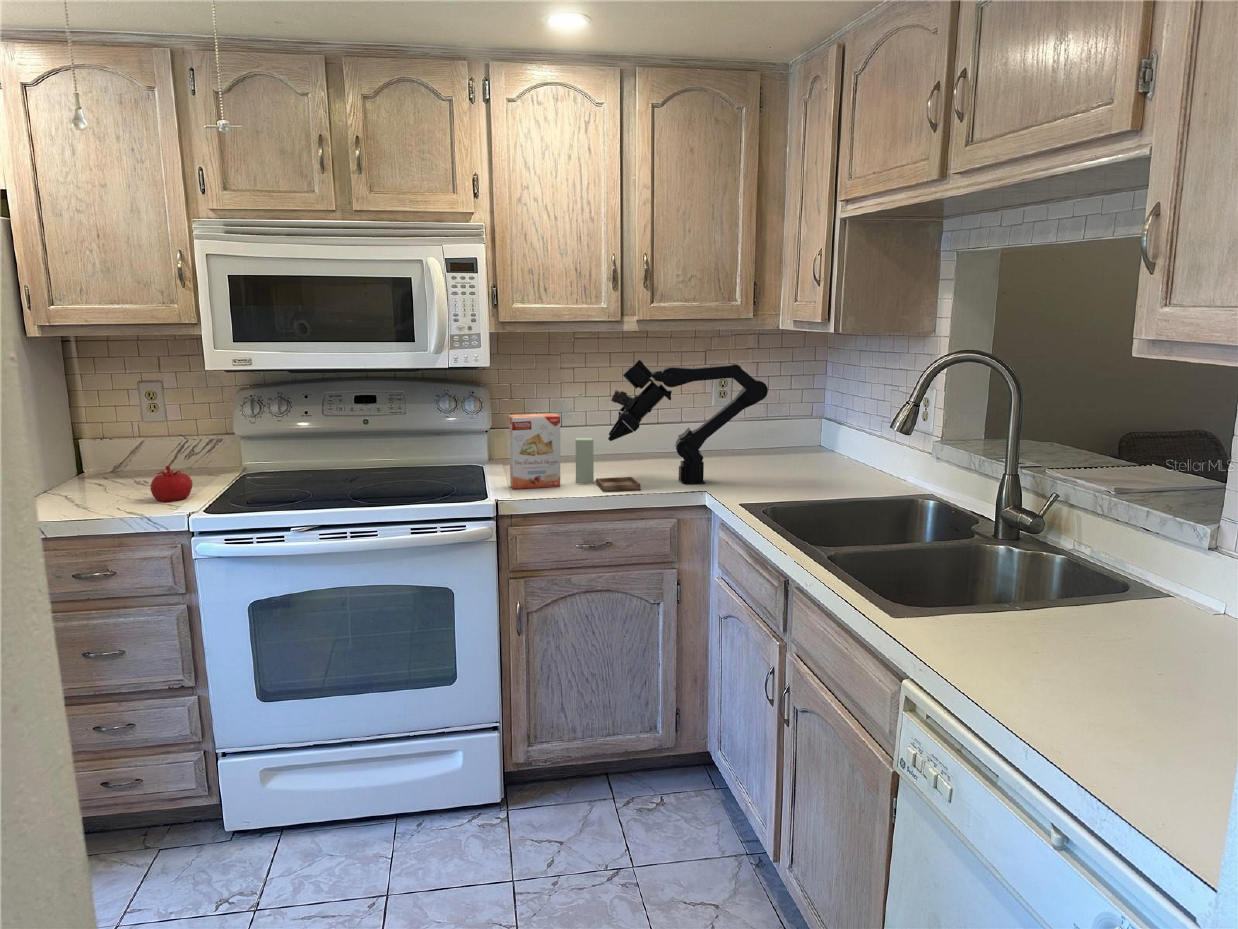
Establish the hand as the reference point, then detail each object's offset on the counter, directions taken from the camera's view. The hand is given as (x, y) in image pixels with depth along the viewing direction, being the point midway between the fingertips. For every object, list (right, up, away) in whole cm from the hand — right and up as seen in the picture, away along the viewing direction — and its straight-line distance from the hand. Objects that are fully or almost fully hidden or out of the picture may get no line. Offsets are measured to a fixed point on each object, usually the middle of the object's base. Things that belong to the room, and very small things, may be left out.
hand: (609, 437), depth 242 cm
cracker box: (-21, -15, -3) cm, 26 cm away
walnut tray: (+3, -15, -5) cm, 16 cm away
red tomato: (-118, -18, -19) cm, 121 cm away
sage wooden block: (-7, -13, +3) cm, 15 cm away
